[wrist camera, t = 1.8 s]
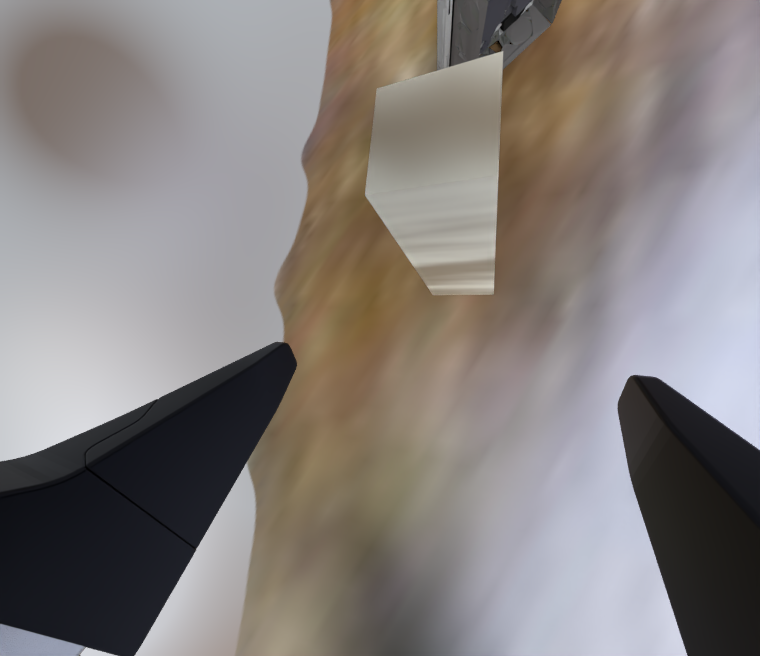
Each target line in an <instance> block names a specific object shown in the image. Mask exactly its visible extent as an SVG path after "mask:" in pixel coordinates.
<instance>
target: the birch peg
mask: <svg viewBox="0 0 760 656" xmlns="http://www.w3.org/2000/svg"><path fill="white" fill-rule="evenodd" d="M502 70H503V51H501V52H498V53H495V54H491V55H488V56H485V57H481V58H478V59H475V60H471V61H468V62H464V63H461V64H458V65H454V66H451V67H448V68H444V69H441V70H438V71H434V72H431V73H428V74H424V75H421V76H417V77H414V78H411V79H407V80H404V81H401V82H397V83H394V84H391V85H387V86H384V87H381V88H377V92H376V101H375V110H374V119H373V128H372V137H371V146H370V154H369V163H368V172H367V181H366V190H365V196H366V197H367V199H368V200H369V202H370V203H371V205H372V206H373V208H374V209H375V211H376V212H377V214H378V215H379V216H380V218H381V219H382V221H383V222H384V224H385V225H386V227H387V228H388V230H389V231H390V233H391V234H392V236H393V237H394V239H395V240H396V241H397V243H398V244H399V246H400V247H401V249H402V250H403V252H404V253H405V255H406V256H407V258H408V259H409V261H410V262H411V264H412V265H413V267H414V268H415V269H416V271H417V272H418V274H419V275H420V277H421V278H422V280H423V281H424V283H425V284H426V286H427V287H428V289H429V290H430V292H431V293H432V294H433V295H494V273H495V248H496V223H497V198H498V172H499V147H500V121H501V96H502Z"/></svg>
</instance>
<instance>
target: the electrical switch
mask: <svg viewBox="0 0 760 656" xmlns="http://www.w3.org/2000/svg"><path fill="white" fill-rule="evenodd" d="M560 3H561V0H438V3H437V71H438V70H441V69H444V68H448V67H451V66H454V65H458V64H461V63H464V62H468V61H471V60H475V59H478V58H481V57H485V55H487V56H488V55H491V54H495V53H496V52H494V51H493V50H492V49H490V48H488V47H490V46H491V45H492V44H494V43H495V42H496V41H497V40H498V41H499V42H500V44H501V46H502V47H503V48H502V50H501V51H503V69H504V68H505V67H506V66H507V65H508V64H509V63H510V62H512V61H513V60H514V59H515V58H516V57H517V56H518V55H519V54H520V53H521V52H522V51H523V50H524V49H526V48H527V47H528V46H529V45H530V44H531V43H532V42H533V41H534V40H535V39H536V38H537V37H539V36H540V35H541V34H542V33H543V32H544V31H545V30H546V29H547V28H548V27H549V26H550V25H551V24H550V23H549V22H548V21H547V20H546V19H548V20H549V21H550V22H551V23H553V20H554V18H555V15H556V13H557V10H558V8H559V5H560ZM553 5H554V6H553ZM527 9H528V12H526V10H527ZM545 18H546V19H545ZM530 20H531V21H532V22H531V21H530ZM505 32H506V34H505ZM505 35H506V36H505ZM530 36H531V37H530ZM510 42H511V43H512V44H510ZM521 43H522V44H521ZM519 44H520V45H519ZM480 54H482V55H481V56H479V55H480Z"/></svg>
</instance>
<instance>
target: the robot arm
mask: <svg viewBox="0 0 760 656" xmlns="http://www.w3.org/2000/svg"><path fill="white" fill-rule="evenodd" d="M296 367H297V362H296V359H295V357H294V354H293V352H292V350H291V348H290V346H289V345H288V344H287V343H283V342H275V343H272V344H270V345H268V346H266V347H264V348H262V349H260V350H258V351H256V352H254V353H252V354H250V355H248V356H245V357H243V358H241V359H239V360H237V361H235V362H233V363H231V364H229V365H227V366H225V367H223V368H221V369H218V370H216V371H214V372H212V373H210V374H208V375H206V376H204V377H202V378H200V379H198V380H196V381H194V382H191V383H190V384H187V385H185V386H183V387H181V388H179V389H177V390H175V391H173V392H171V393H169V394H167V395H164V396H162V397H161V398H159V399H156V400H154V401H152V402H150V403H148V404H146V405H144V406H141V407H139V408H137V409H135V410H133V411H131V412H129V413H127V414H124V415H122V416H120V417H118V418H115V419H113V420H111V421H109V422H106V423H104V424H102V425H100V426H97V427H95V428H93V429H91V430H88V431H86V432H84V433H81V434H79V435H77V436H74V437H72V438H70V439H67V440H65V441H63V442H61V443H58V444H56V445H54V446H51V447H49V448H47V449H44V450H42V451H39V452H37V453H34V454H31V455H28V456H25V457H21V458H17V459H13V460H7V461H1V462H0V656H80V654H81V653H82V651H83V650H84V649H85V648H86V647H88V648H92V649H96V650H99V651H103V652H106V653H110V654H114V655H118V656H134V655H135V654H136V652H137V651H138V649H139V648H140V646H141V644H142V643H143V641H144V639H145V638H146V636H147V634H148V633H149V631H150V629H151V627H152V626H153V624H154V622H155V620H156V619H157V617H158V615H159V613H160V612H161V610H162V608H163V607H164V605H165V603H166V601H167V599H168V598H169V596H170V594H171V593H172V591H173V589H174V587H175V586H176V584H177V582H178V581H179V579H180V577H181V575H182V574H183V572H184V570H185V568H186V567H187V565H188V563H189V562H190V560H191V558H192V556H193V555H194V553H195V551H196V548H197V547H198V545H199V544H200V542H201V540H202V539H203V537H204V535H205V533H206V532H207V530H208V528H209V526H210V525H211V523H212V521H213V520H214V518H215V516H216V514H217V513H218V511H219V509H220V507H221V506H222V504H223V502H224V501H225V499H226V497H227V495H228V494H229V492H230V490H231V488H232V487H233V485H234V483H235V481H236V480H237V478H238V476H239V475H240V473H241V471H242V469H243V468H244V466H245V464H246V462H247V461H248V459H249V457H250V456H251V454H252V452H253V450H254V449H255V447H256V445H257V443H258V442H259V440H260V438H261V437H262V435H263V433H264V431H265V430H266V428H267V426H268V424H269V423H270V421H271V419H272V418H273V416H274V414H275V412H276V410H277V409H278V407H279V405H280V403H281V400H282V398H283V396H284V394H285V392H286V390H287V387H288V385H289V383H290V381H291V379H292V377H293V374H294V372H295V370H296ZM618 415H619V420H620V425H621V431H622V436H623V442H624V447H625V452H626V458H627V463H628V468H629V473H630V478H631V481H632V485H633V488H634V492H635V495H636V498H637V501H638V504H639V507H640V510H641V513H642V516H643V520H644V523H645V526H646V529H647V532H648V535H649V538H650V541H651V544H652V547H653V550H654V554H655V557H656V560H657V563H658V566H659V569H660V572H661V575H662V578H663V581H664V585H665V588H666V591H667V594H668V597H669V600H670V603H671V606H672V609H673V612H674V615H675V619H676V622H677V625H678V628H679V631H680V634H681V637H682V640H683V643H684V646H685V649H686V653H687V656H760V450H759V449H757V448H756V447H755V446H753V445H752V444H750V443H749V442H748V441H746V440H745V439H743V438H742V437H741V436H739V435H738V434H736V433H735V432H733V431H732V430H731V429H729V428H728V427H726V426H725V425H724V424H722V423H721V422H719V421H718V420H717V419H715V418H714V417H712V416H711V415H710V414H708V413H707V412H705V411H704V410H702V409H701V408H700V407H698V406H697V405H695V404H694V403H693V402H691V401H690V400H688V399H687V398H686V397H684V396H683V395H681V394H680V393H679V392H677V391H676V390H674V389H673V388H672V387H670V386H669V385H667V384H666V383H664V382H663V381H662V380H660V379H658V378H656V377H651V376H640V375H633V376H630V377H629V378H628V380H627V382H626V384H625V387H624V389H623V391H622V394H621V396H620V398H619V401H618Z"/></svg>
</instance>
